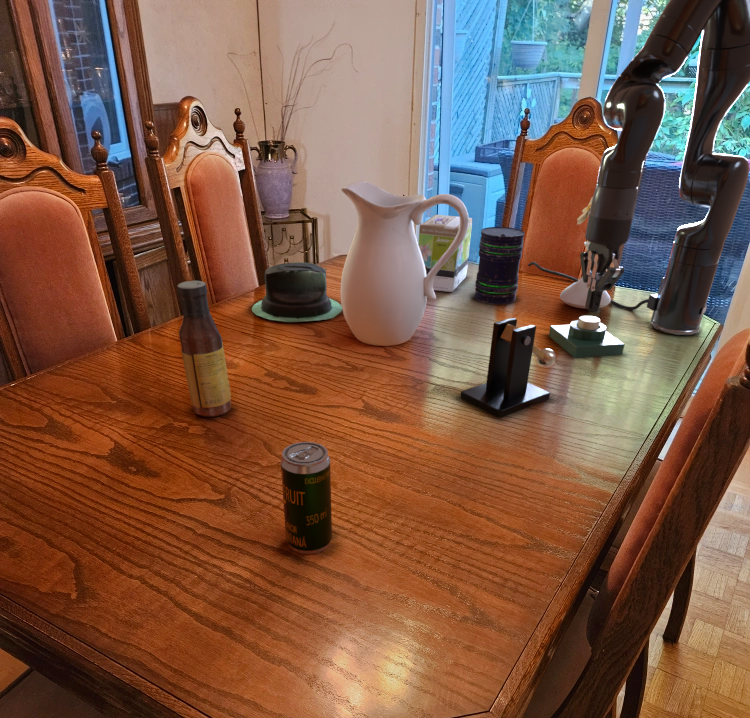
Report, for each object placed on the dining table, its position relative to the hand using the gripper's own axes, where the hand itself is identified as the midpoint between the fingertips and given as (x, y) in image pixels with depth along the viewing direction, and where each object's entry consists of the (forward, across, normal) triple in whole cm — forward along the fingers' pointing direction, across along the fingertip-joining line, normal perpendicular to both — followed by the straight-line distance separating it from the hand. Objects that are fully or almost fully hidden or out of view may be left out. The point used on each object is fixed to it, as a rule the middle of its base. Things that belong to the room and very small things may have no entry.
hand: (591, 309), depth 129 cm
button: (+4, 0, 0) cm, 4 cm away
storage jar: (+7, +32, +7) cm, 34 cm away
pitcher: (+8, +9, +36) cm, 38 cm away
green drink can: (+8, -54, +62) cm, 82 cm away
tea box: (+8, +46, +16) cm, 49 cm away
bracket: (+8, -21, +25) cm, 33 cm away
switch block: (+7, 0, 0) cm, 7 cm away
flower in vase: (+7, +23, -11) cm, 27 cm away
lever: (+1, -19, +22) cm, 29 cm away
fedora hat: (+8, +32, +54) cm, 63 cm away
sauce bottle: (+8, -16, +73) cm, 75 cm away
